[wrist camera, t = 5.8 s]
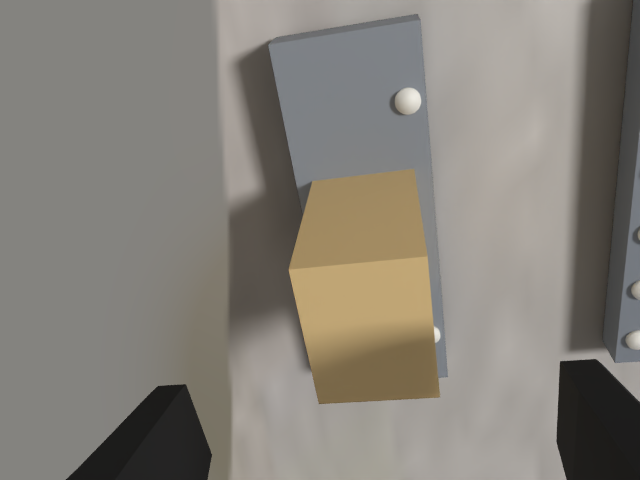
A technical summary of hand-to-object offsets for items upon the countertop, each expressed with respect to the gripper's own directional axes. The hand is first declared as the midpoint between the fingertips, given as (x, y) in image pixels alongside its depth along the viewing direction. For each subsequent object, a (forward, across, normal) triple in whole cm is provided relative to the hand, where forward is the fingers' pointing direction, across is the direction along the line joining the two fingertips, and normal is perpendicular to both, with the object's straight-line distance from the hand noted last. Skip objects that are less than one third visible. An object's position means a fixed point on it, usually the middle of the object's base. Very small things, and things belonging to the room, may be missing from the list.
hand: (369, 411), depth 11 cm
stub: (+9, 0, 0) cm, 9 cm away
